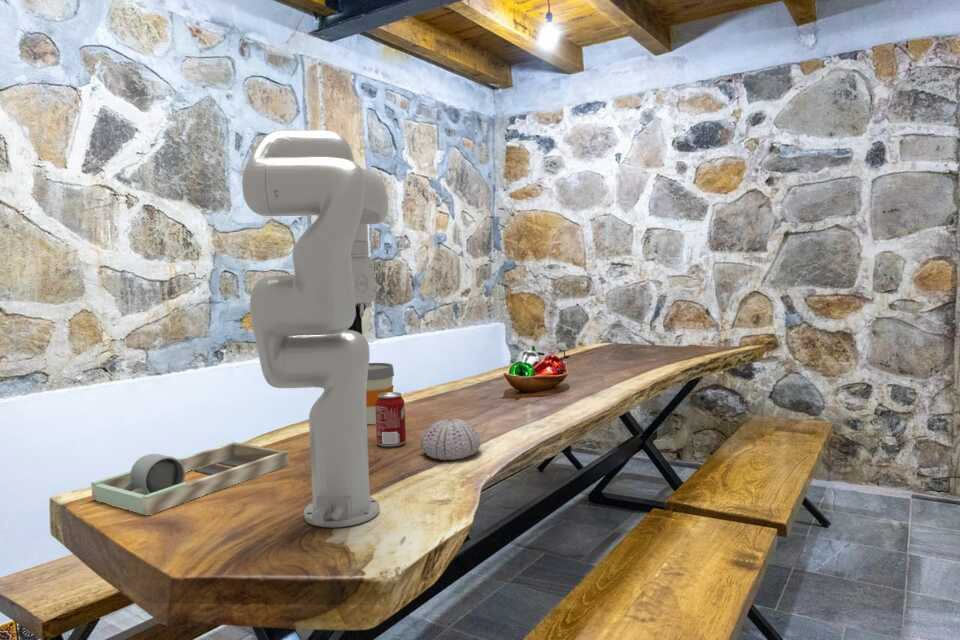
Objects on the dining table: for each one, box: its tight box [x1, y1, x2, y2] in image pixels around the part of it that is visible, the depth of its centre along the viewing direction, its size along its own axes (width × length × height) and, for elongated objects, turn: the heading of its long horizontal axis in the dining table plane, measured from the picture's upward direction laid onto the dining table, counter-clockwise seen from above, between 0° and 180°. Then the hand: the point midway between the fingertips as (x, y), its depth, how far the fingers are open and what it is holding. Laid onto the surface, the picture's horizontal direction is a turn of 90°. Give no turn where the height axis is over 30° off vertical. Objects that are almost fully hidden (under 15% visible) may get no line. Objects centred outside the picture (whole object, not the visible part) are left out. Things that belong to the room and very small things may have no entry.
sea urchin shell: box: [420, 418, 482, 461], centre depth 146 cm, size 13×14×8 cm
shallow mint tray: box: [90, 470, 189, 514], centre depth 121 cm, size 8×17×3 cm, turn 59°
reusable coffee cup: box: [366, 362, 395, 425], centre depth 179 cm, size 13×13×15 cm
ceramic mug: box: [122, 453, 186, 495], centre depth 123 cm, size 11×8×8 cm
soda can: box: [375, 391, 407, 448], centre depth 154 cm, size 7×7×12 cm
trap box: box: [91, 441, 290, 515], centre depth 131 cm, size 32×17×3 cm, turn 149°
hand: (354, 335), depth 142 cm, fingers closed
